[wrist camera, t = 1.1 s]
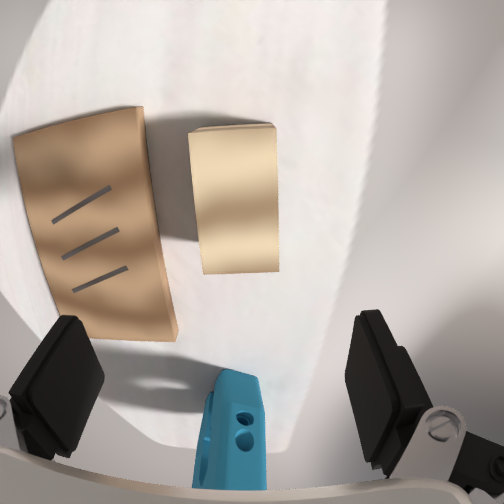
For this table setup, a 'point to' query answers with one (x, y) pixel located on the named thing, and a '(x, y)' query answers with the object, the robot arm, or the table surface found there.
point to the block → (232, 436)
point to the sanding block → (236, 197)
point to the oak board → (98, 224)
